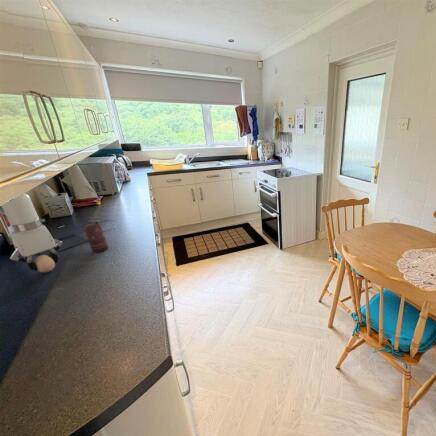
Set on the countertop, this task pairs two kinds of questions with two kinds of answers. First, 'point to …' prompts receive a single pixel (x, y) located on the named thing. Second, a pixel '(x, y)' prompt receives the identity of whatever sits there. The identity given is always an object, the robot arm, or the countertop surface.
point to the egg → (44, 263)
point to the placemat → (67, 243)
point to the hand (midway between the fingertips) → (45, 265)
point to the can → (95, 237)
